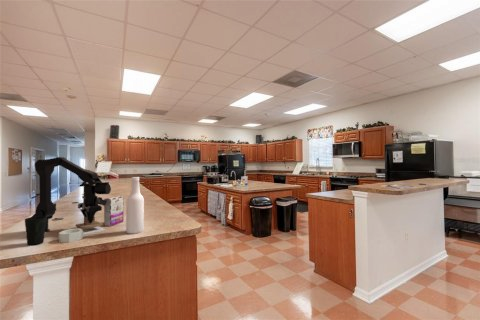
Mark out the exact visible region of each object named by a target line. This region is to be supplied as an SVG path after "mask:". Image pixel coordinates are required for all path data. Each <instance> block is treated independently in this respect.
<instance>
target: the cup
mask: <svg viewBox="0 0 480 320" xmlns="http://www.w3.org/2000/svg"><path fill="white" fill-rule="evenodd" d="M46 219H47V217H46V216H37V217H32V216H30V217H26V218H24V227H25V228H24V229H25V233H26V234H25V235H26V236H25V237H26V245H27V246H29V247H34V246H38V245H42V244H43V243H44V241H45V233H46V232H45V227H46Z"/></svg>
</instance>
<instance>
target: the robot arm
mask: <svg viewBox="0 0 480 320" xmlns="http://www.w3.org/2000/svg"><path fill="white" fill-rule="evenodd" d="M60 166H61V167H62V168H65V169H66V170H67V171H69V172H71V173H73V174H74V175H76V176H77V177H78V178H79V180H81V181H82V182H81V184H79V186H78V187H83V195H82V197H81V198H82V199H83V202H79V203H78V204H77V208H78V209H79V211H80V212H81V214H82V216H83V218H84V217H87V218H88V221H89V223H92V221H93V218H94V217H95V215H96V213H98V212H99V211H101V212H102V209H103V207H104V206H105V205H106V203H107V201H106V200H104V199H103V197H100V196H98V195H109V194H111V191H112V187H111V184H110V182H109V181H107V182H106V181H105V182H103V181H102V180H101V179H100V177H99V176H98V173H97V172H95V171H93V170H89V169H85V168H83V167H81V166H79V165H78V164H76V163H74V162H73V161H70V160H69V159H67V158H65V157H62V156H61V157H60V156H57V157H54V158H48V159H47V158H46V159H37V160H36V161H35V162H34V168H35V172H36V173H37V175H38V177H39V179H38V180H39V181H38V183H39V185H38V186H39V187H38V188H39V190H38V192H39V193H38V194H39V203H38V204H37V206H36V207H35V213H34V214H33V215H31V217H37V216H46V217H47V219H46V227H45V233H46V232H50V231H51V229H50V228H49V220H50V219H53V217H54V215H55V214H56V211H57V203H56V202H55V203H54V202H53V201H52V174H53V172H54V171H55V168H56V167H60ZM102 206H103V207H102Z"/></svg>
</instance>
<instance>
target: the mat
mask: <svg viewBox="0 0 480 320" xmlns="http://www.w3.org/2000/svg"><path fill="white" fill-rule="evenodd" d="M78 229H80V228H78ZM82 230H83V236H87V235H92V234H96V233H100V232H105V231H107V229H106V228H104V227H102V226H98V227H93V228H87V229H82Z"/></svg>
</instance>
